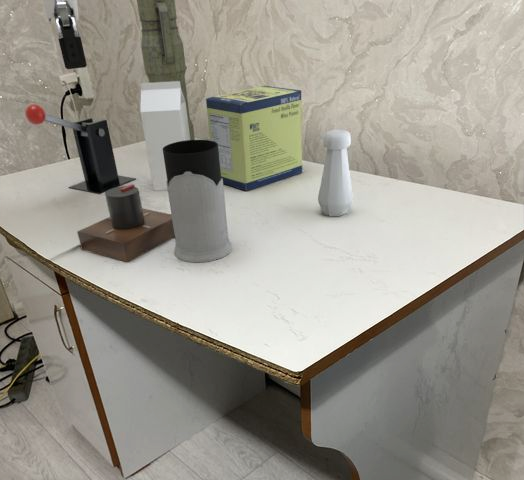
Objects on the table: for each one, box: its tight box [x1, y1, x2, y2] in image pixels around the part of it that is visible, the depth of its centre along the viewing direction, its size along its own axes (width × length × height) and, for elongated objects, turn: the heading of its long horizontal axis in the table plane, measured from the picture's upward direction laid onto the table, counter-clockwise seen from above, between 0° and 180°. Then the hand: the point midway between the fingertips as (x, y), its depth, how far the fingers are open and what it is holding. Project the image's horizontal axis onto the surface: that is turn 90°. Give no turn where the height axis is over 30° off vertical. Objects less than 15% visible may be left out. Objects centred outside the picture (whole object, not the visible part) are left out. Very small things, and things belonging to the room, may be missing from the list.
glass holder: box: [163, 139, 233, 263], centre depth 79 cm, size 9×14×15 cm, turn 177°
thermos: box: [136, 0, 196, 140], centre depth 116 cm, size 9×12×35 cm
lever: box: [24, 103, 89, 138], centre depth 97 cm, size 15×3×3 cm, turn 147°
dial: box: [104, 183, 145, 229], centre depth 82 cm, size 5×5×5 cm
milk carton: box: [139, 81, 190, 192], centre depth 100 cm, size 7×7×19 cm
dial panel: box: [76, 207, 175, 263], centre depth 84 cm, size 12×10×3 cm
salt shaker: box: [317, 129, 354, 217], centre depth 87 cm, size 6×6×13 cm
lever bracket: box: [68, 117, 137, 195], centre depth 105 cm, size 10×9×13 cm
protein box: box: [205, 85, 303, 192], centre depth 104 cm, size 10×16×16 cm
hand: (75, 64), depth 85 cm, fingers open, 9 cm apart
